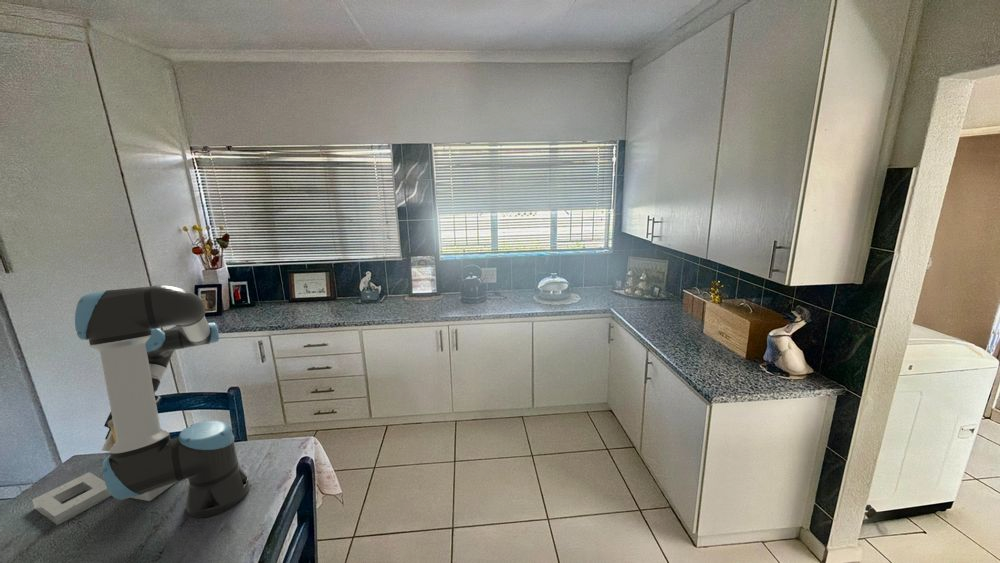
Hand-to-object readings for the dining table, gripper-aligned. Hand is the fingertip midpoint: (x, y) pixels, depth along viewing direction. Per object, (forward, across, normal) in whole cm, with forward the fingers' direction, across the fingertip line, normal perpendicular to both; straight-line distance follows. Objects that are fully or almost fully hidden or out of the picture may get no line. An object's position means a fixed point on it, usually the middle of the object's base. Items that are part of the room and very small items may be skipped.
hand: (115, 450), depth 122 cm
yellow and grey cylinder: (0, 0, -6) cm, 6 cm away
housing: (+14, +2, +3) cm, 15 cm away
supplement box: (+11, -17, 0) cm, 20 cm away
